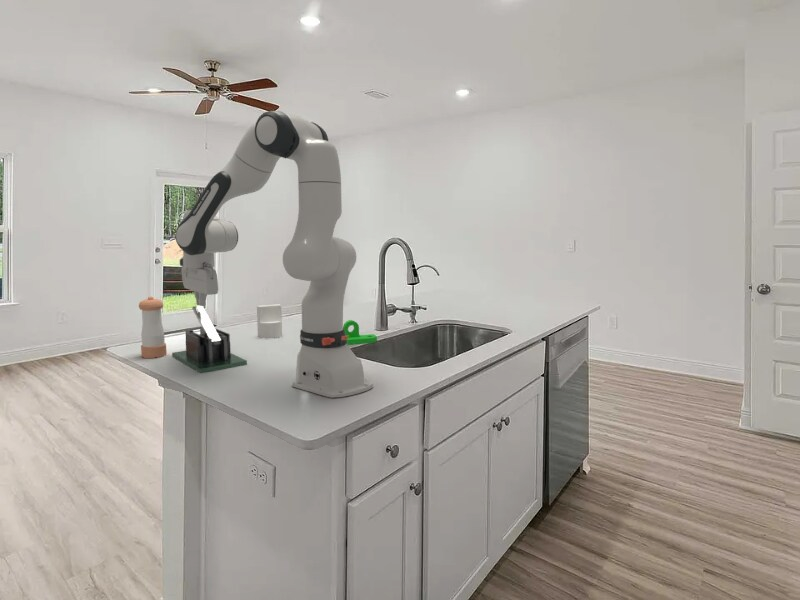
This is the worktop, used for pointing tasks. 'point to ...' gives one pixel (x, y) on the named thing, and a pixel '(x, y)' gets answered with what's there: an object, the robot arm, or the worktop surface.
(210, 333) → the steel strap
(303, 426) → the worktop surface
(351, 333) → the mechanical part
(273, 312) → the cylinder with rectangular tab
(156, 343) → the pepper shaker
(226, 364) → the cooling board
